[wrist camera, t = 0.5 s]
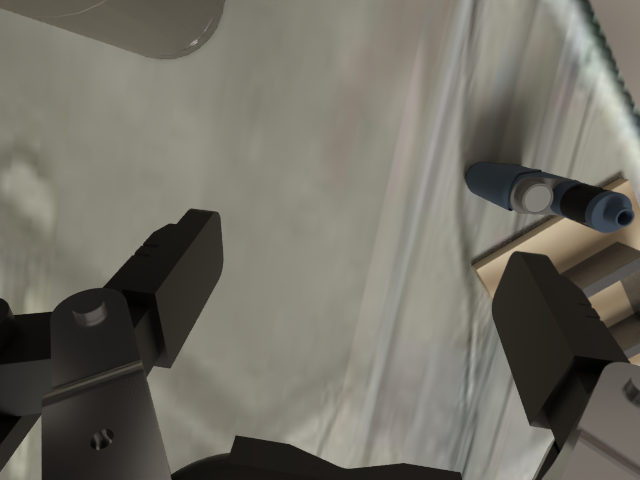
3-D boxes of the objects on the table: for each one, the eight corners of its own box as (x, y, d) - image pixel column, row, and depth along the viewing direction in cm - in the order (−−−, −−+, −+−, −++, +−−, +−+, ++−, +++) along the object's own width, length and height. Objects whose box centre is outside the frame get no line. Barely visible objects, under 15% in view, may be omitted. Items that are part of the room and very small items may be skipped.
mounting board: (471, 265, 35) (476, 270, 34) (619, 177, 33) (629, 180, 32) (547, 400, 40) (553, 407, 39) (677, 331, 39) (687, 336, 38)
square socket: (524, 294, 35) (545, 310, 32) (617, 241, 34) (646, 253, 31) (560, 362, 38) (582, 383, 35) (647, 315, 37) (677, 333, 34)
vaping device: (520, 195, 33) (639, 241, 22) (460, 191, 33) (548, 236, 21) (528, 164, 32) (654, 196, 21) (466, 159, 32) (561, 189, 21)
